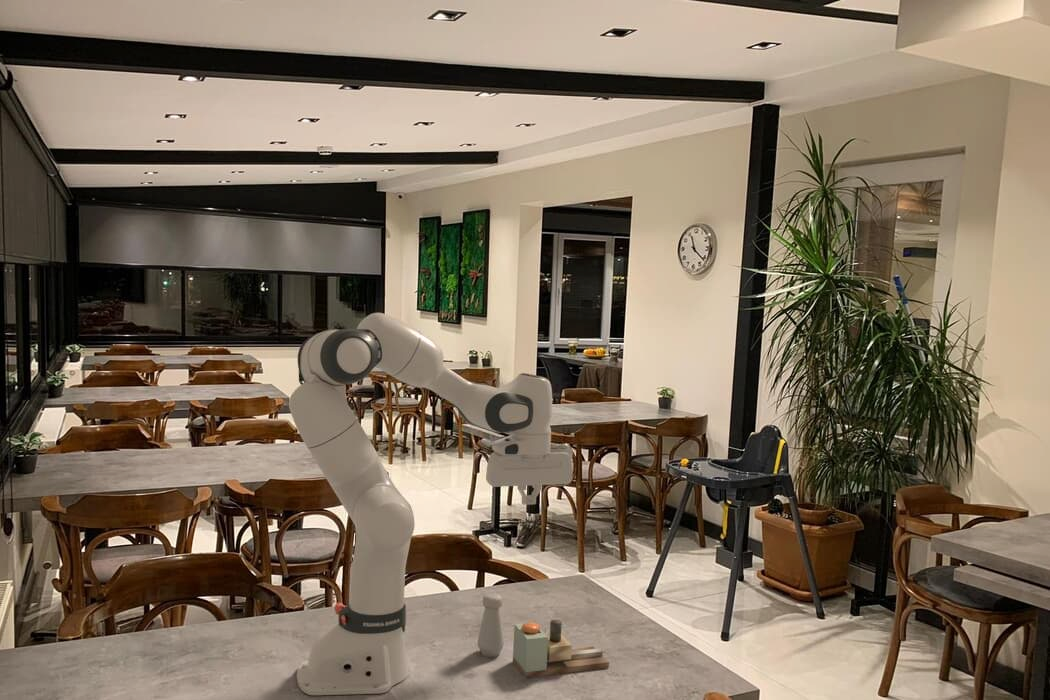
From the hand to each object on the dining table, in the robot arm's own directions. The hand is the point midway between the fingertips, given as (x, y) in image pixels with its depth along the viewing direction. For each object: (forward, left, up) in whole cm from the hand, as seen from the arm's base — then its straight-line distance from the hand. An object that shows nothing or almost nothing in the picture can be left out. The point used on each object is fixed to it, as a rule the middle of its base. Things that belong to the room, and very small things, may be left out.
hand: (528, 503), depth 188 cm
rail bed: (+3, -16, -31) cm, 35 cm away
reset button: (-4, -16, -27) cm, 31 cm away
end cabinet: (-4, -16, -30) cm, 34 cm away
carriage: (+1, -16, -29) cm, 33 cm away
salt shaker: (-10, -7, -31) cm, 34 cm away
